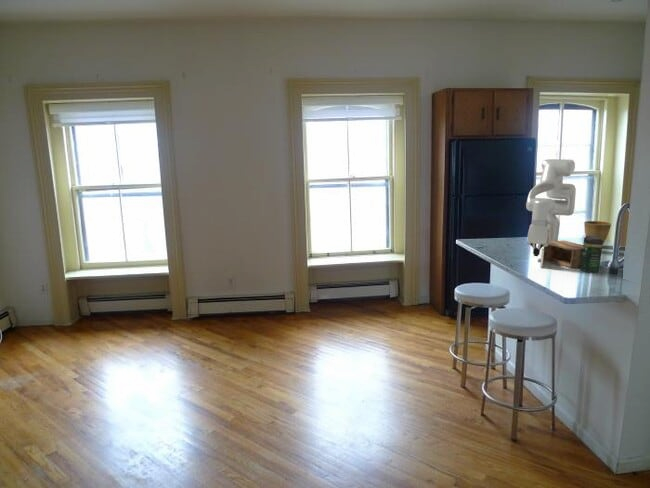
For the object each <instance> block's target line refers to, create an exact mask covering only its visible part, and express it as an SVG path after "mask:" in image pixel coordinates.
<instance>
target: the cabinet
mask: <svg viewBox="0 0 650 488" xmlns="http://www.w3.org/2000/svg"><path fill="white" fill-rule="evenodd" d="M582 253H583V244H581V243H580V244H579V243H576V242H572V241H567V240H564V239H563V240H558V241H552V242H548V246H546V247H544V255H543V261H544V260H545V262H548V263H550V264H554V263H555V265H557V264H558V266H561V267H564V266H565V267H564V268H567V267H568V269H570V268H571V269H570V270H572V269H573V268H574V269H581V268H580V266H581V260H582Z"/></svg>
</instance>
